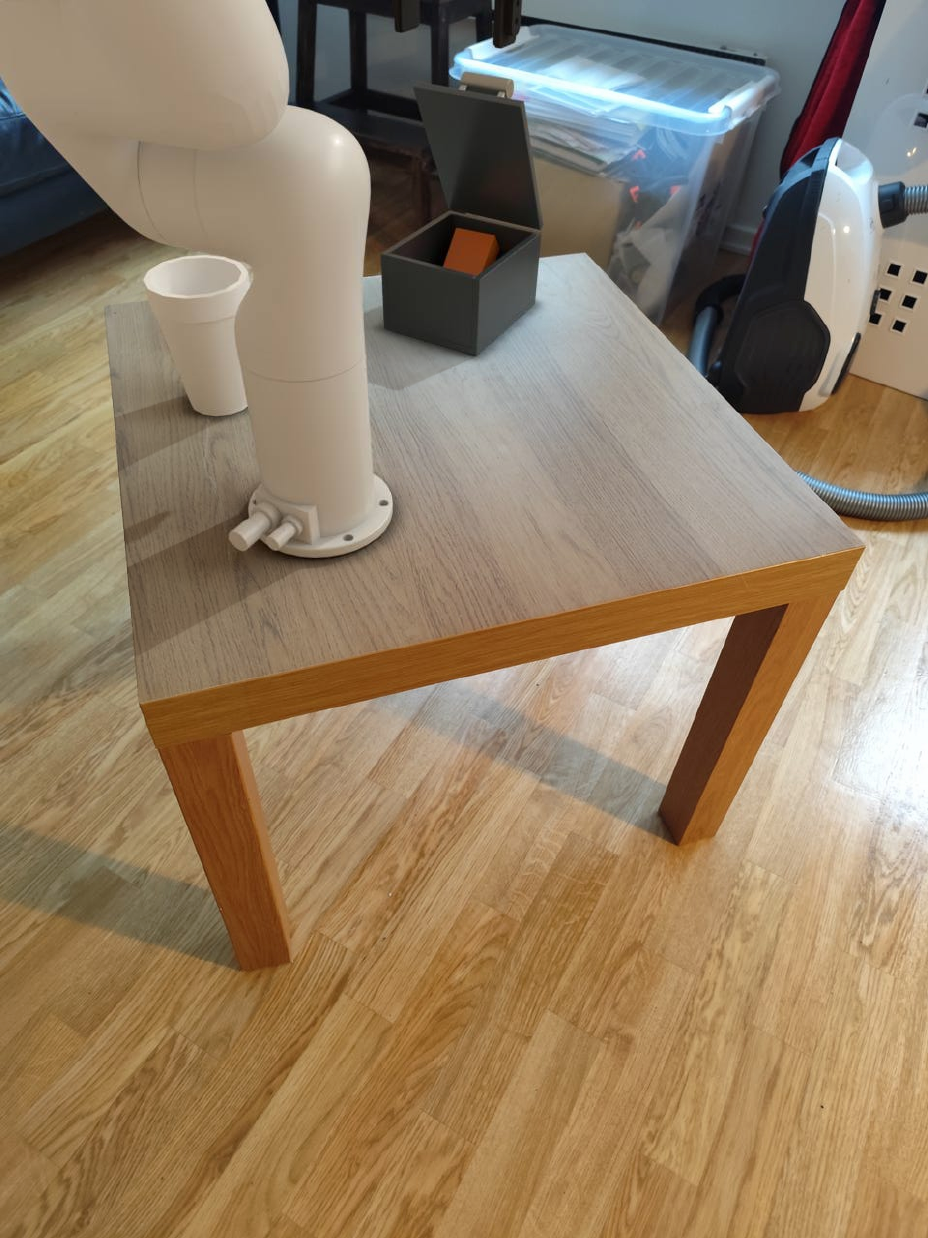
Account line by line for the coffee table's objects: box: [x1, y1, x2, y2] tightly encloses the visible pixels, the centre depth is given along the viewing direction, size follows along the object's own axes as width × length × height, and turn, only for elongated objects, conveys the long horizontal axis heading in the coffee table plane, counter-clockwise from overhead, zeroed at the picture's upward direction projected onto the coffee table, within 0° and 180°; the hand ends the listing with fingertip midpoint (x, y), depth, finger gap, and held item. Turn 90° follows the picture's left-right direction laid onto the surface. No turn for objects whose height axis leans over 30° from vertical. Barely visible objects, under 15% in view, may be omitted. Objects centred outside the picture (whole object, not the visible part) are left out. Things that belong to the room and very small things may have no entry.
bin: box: [380, 210, 543, 357], centre depth 97 cm, size 16×13×9 cm
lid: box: [412, 70, 544, 231], centre depth 91 cm, size 16×13×5 cm
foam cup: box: [142, 254, 251, 417], centre depth 81 cm, size 10×9×13 cm
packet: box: [443, 228, 500, 276], centre depth 99 cm, size 8×5×3 cm
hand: (454, 37), depth 71 cm, fingers open, 9 cm apart
